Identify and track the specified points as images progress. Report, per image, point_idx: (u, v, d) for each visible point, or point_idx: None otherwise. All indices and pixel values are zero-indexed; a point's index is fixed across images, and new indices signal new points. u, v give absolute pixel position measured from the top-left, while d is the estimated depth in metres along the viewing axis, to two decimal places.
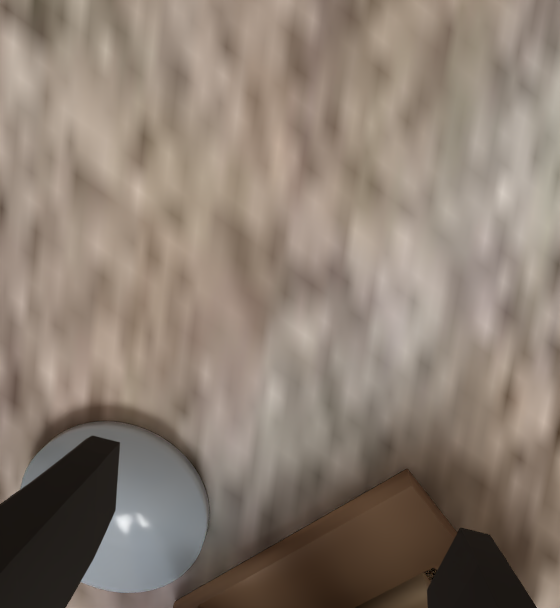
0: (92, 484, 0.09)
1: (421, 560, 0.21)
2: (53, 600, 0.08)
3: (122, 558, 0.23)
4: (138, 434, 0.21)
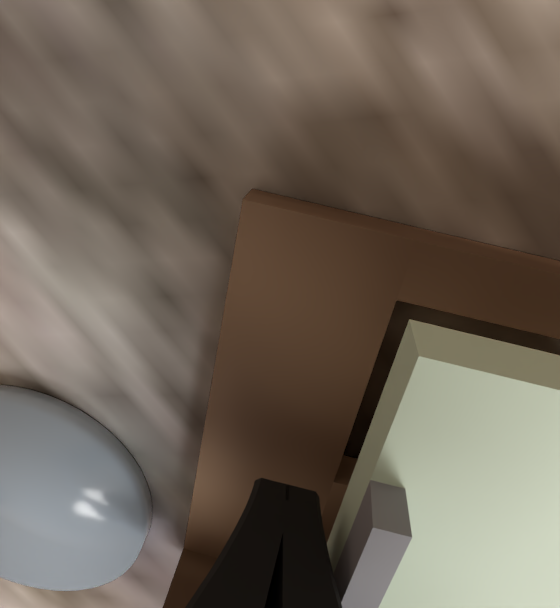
0: (282, 532, 0.08)
1: (368, 302, 0.11)
2: None
3: (77, 543, 0.17)
4: None
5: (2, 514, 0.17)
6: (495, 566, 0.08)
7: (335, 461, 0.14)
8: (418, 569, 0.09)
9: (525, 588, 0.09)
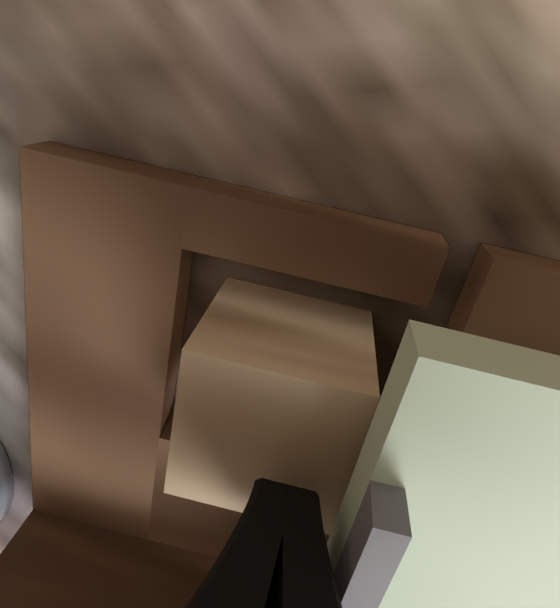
0: (282, 532, 0.08)
1: (156, 251, 0.12)
2: None
3: None
4: None
5: None
6: (495, 566, 0.08)
7: (156, 416, 0.14)
8: (418, 569, 0.09)
9: (525, 589, 0.09)
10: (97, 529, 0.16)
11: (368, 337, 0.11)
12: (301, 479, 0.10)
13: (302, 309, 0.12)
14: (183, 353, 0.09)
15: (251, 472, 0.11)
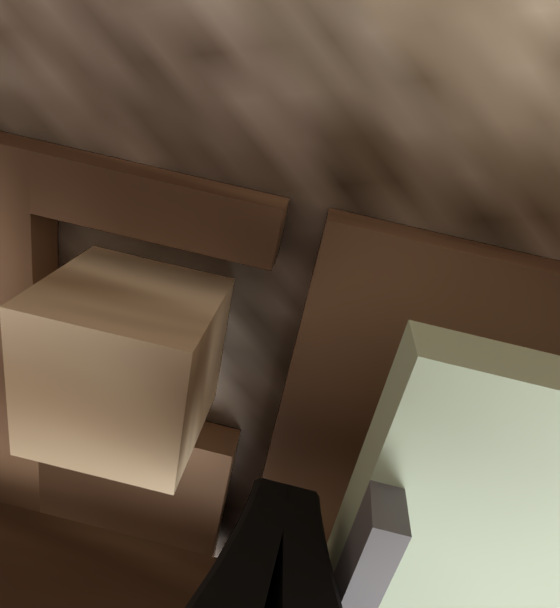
0: (281, 533, 0.08)
1: (6, 217, 0.12)
2: None
3: None
4: None
5: None
6: (495, 566, 0.08)
7: None
8: (418, 569, 0.09)
9: (525, 588, 0.09)
10: None
11: (215, 301, 0.12)
12: (135, 438, 0.11)
13: (157, 276, 0.12)
14: (1, 310, 0.10)
15: (88, 432, 0.11)
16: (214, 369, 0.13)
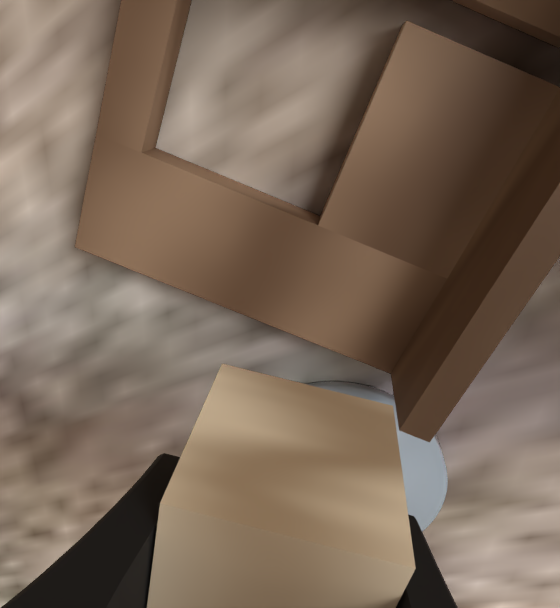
0: None
1: (143, 174, 0.15)
2: None
3: None
4: None
5: None
6: None
7: (293, 220, 0.15)
8: None
9: None
10: (424, 323, 0.16)
11: None
12: (306, 586, 0.08)
13: None
14: None
15: None
16: (320, 417, 0.10)
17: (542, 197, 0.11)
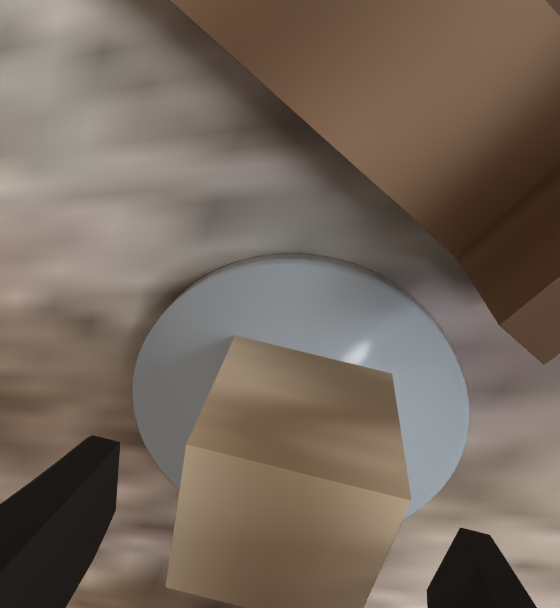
0: (91, 484, 0.09)
1: None
2: (54, 600, 0.08)
3: None
4: (136, 388, 0.13)
5: None
6: None
7: None
8: None
9: None
10: (553, 177, 0.09)
11: None
12: (315, 520, 0.09)
13: None
14: (168, 587, 0.10)
15: (310, 560, 0.09)
16: (325, 381, 0.11)
17: None
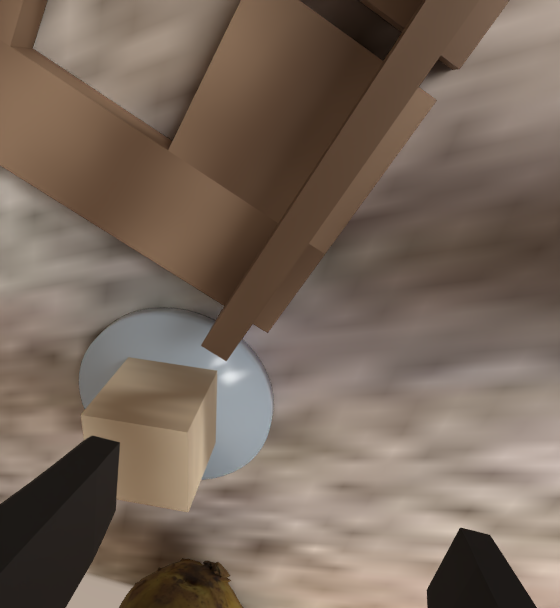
0: (91, 484, 0.09)
1: (11, 68, 0.16)
2: (53, 600, 0.08)
3: (218, 388, 0.21)
4: (83, 393, 0.22)
5: None
6: None
7: (146, 141, 0.16)
8: None
9: None
10: None
11: None
12: (148, 447, 0.17)
13: None
14: None
15: (154, 470, 0.18)
16: (172, 378, 0.20)
17: (329, 147, 0.13)
